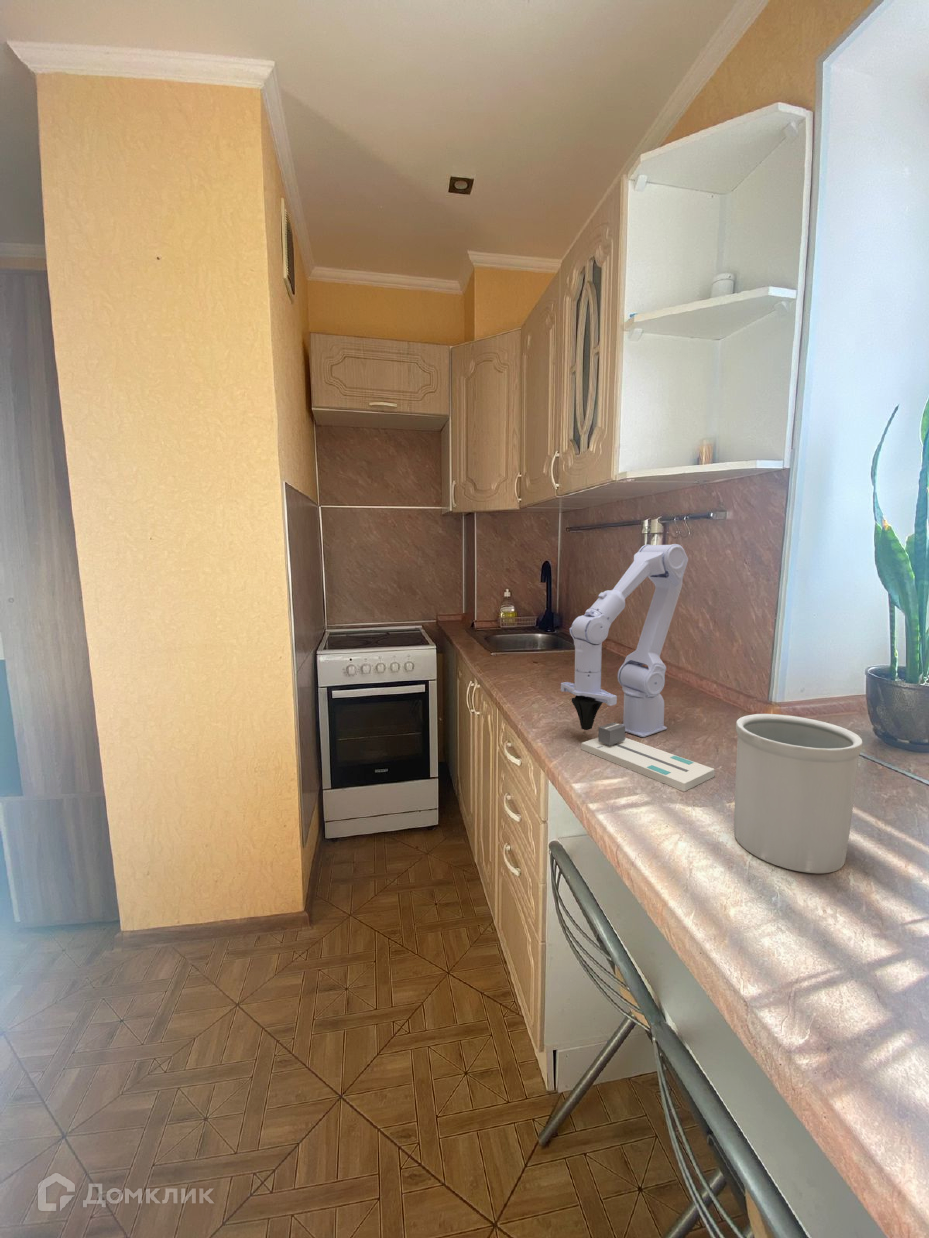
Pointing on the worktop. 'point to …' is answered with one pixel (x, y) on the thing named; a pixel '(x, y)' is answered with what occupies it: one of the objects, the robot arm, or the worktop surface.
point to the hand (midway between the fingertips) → (586, 728)
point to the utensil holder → (795, 790)
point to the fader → (611, 733)
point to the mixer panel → (652, 762)
